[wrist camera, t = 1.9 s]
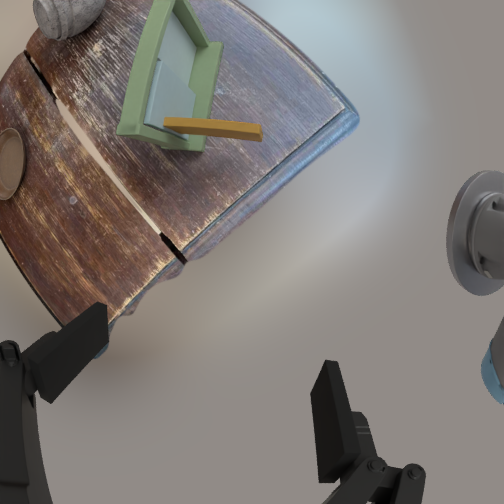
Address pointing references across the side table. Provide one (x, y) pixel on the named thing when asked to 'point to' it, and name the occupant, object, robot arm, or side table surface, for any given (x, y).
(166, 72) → the window pane
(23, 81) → the side table surface
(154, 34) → the window frame
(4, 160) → the saucer
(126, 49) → the side table surface
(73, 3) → the decorative orb
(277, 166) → the side table surface
